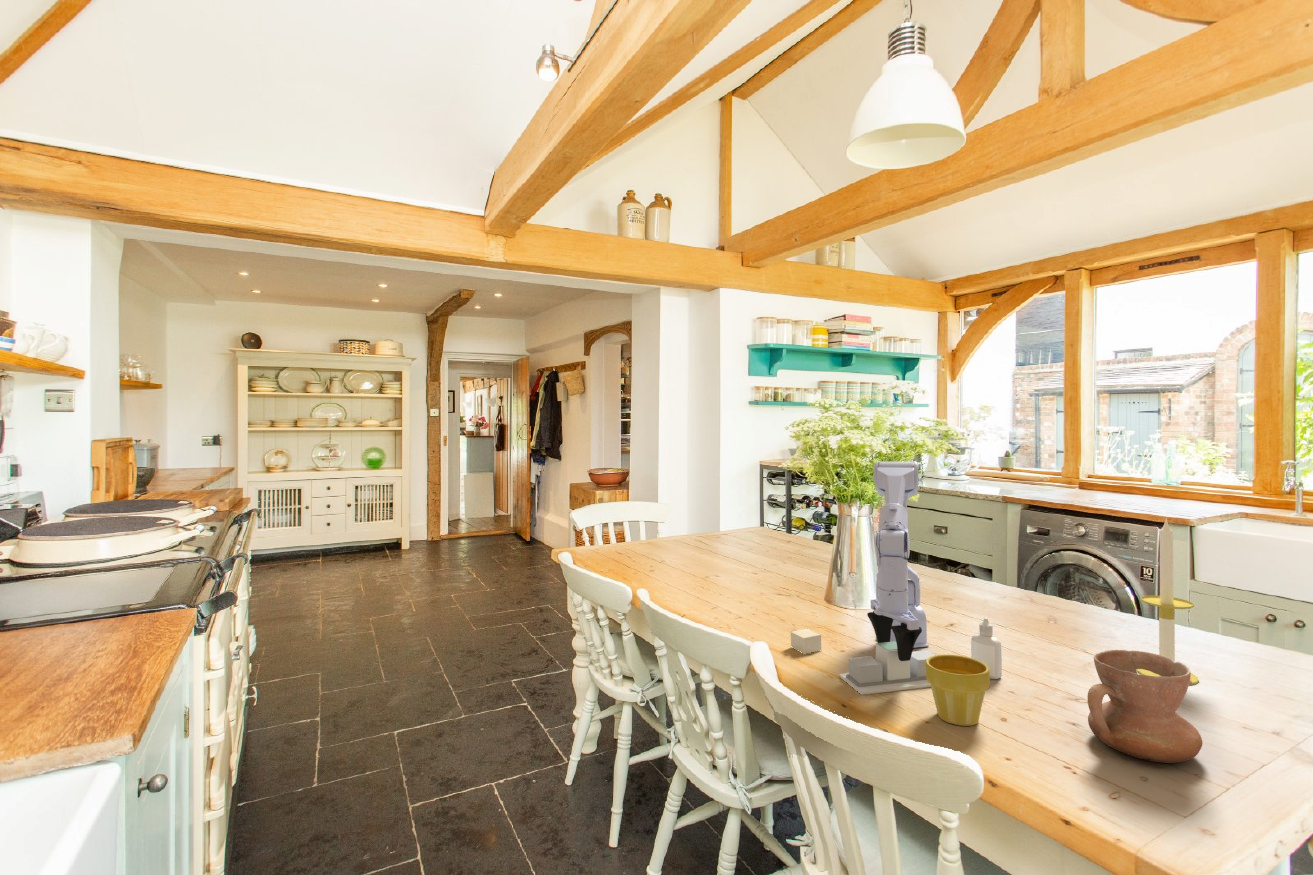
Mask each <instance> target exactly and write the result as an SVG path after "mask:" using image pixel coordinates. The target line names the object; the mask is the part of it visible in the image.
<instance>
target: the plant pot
mask: <svg viewBox="0 0 1313 875" xmlns="http://www.w3.org/2000/svg"><path fill="white" fill-rule="evenodd" d="M926 679H927V681H928V682H929V683H930V684H931V687H930V688H931V691H932V696H933V699H934V705H935V709H936V713H937V715H938V717H939V718H940V719H941V720H942V721H944V722H946V723H948V724H952V725H955V726H959V727H960V726H961V727H969V726H975V725H977V724H978V723H979V721H980V716H981V711H982V707H983V702H984V697H985V693H986V691H987V690H989V689H990V680H991V679H990V671H989V668H988V666H987V665H986V664H984V663H983V662H981V661H979V660H976V659H973V658H971V657H969V656H965V655H958V654H949V653H948V654H944V653H943V654H936V655H935V654H934V656H931V657H929V658H927V660H926Z"/></svg>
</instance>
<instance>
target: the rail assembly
mask: <svg viewBox="0 0 1313 875" xmlns="http://www.w3.org/2000/svg"><path fill="white" fill-rule="evenodd" d="M934 655H935V654H934V653H932V652H930V651H928V650H926V649H925V650H915V651H914V650H913V651H912V655H911V659H910V678H907V679H898V680H886V679H885V678H884V677H883V674H882V663H880V662H879V661H877V660H876V658H875V657H873V656H872V655H867V656H857V657H848V672H844V673H839V674H838V675H839V676H838V677H839V678H841V680H842V681H844V682H845V683H846V682H847V683H848V684H847V683H846V684H847V685H848V686H850V687H851V688H852V687H853V688H854V691H856V692H857V691H858V692H857V693H858V694H859V693H860V696H864V695H872V694H880V693H888V692H891V693H892V692H897V691H905V690H915V689H925V688H931V684H930V683H929V682H928V681H927V679H926V660H927V658H929V657H931V656H934Z"/></svg>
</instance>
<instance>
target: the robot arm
mask: <svg viewBox="0 0 1313 875" xmlns="http://www.w3.org/2000/svg"><path fill="white" fill-rule="evenodd" d="M873 482H874V483H873V484H874V487H875V490H876V492H877V493H876V494H877V495H880V496H882V497H884V498H885V504H884V505H883V506H882V507H881V508H880V510H879V519H878V532H877V531H876V532H875V534H874V550H875V556H876V566H877V574H876V583H875V597H876V599H870V609H871V610H872V611H869V612H867V618H868V619H869V621H870V623H871V625H872V628H873V631H874V634H875V639H876V642H877V643H884V642H894V641H896V643H897V651H898V657H899V660H900V661H909V660H910V659H911V655H912V652H914V648H924V647H929V645H930V644H929V643H928V641H927V640H928V634H927V631H928V630H927V615H926V613H925V610H924V609H923V608H922V607H921V606H920V605H921V582H920V575H919V573H918V572H917V571H916V570H914V569H913V568H912V567H910V566H909V565H908V564H909V563H908V562H909V561H908V559H909V558H910V551H911V550H910V549H911V548H910V545H911V543H910V542H911V541H910V538H911V537H910V534H909V526H908V525H909V524H908V523H909V512H908V509H907V506H908V502H909V500H910V498H912V497H914V496H917V495H918V492H919V484H920V483H919V482H920V481H919V463H918V462H917V461H916V460H913V461H880V460H876V461H875V462H874V463H873Z"/></svg>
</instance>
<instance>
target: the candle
mask: <svg viewBox="0 0 1313 875" xmlns="http://www.w3.org/2000/svg"><path fill="white" fill-rule="evenodd" d="M1140 601H1141V602H1143V603H1144V604H1147V605H1151V606H1153V607H1158V644H1159V645H1158V652H1159V653H1158V655H1162V656H1166V657H1169V658H1171V659H1172V660H1173V661H1174V662H1176V654H1175V652H1176V646H1175V644H1176V642H1175V641H1176V640H1175V636H1176V634H1175V633H1176V632H1175V630H1176V627H1175V625H1176V624H1175V623H1176V622H1175V621H1176V620H1175V614H1176V613H1175V610H1189V609H1192V608H1194V607H1195V605H1194V603H1193V602H1192V601H1189V600H1185V599H1182V598H1179V597H1174V530H1173V529H1171V527H1170V525H1169V522H1168V520H1167V518H1165V520H1164V524H1163V526H1162V528H1160V529H1159V595H1152V594H1151V595H1150V594H1149V595H1143V596H1141V597H1140ZM1136 671H1137V673H1138V674H1142V675H1149V676H1158V677H1159V676H1160V675H1158V674H1155V673H1153V672H1151V671H1148V670H1144V669H1136ZM1190 679H1191V681H1192V684H1191V685H1190V686H1193V685H1197V684H1199V683H1200V679H1199V678H1198V676H1197V675H1195V674H1194V673H1191V677H1190Z"/></svg>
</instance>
